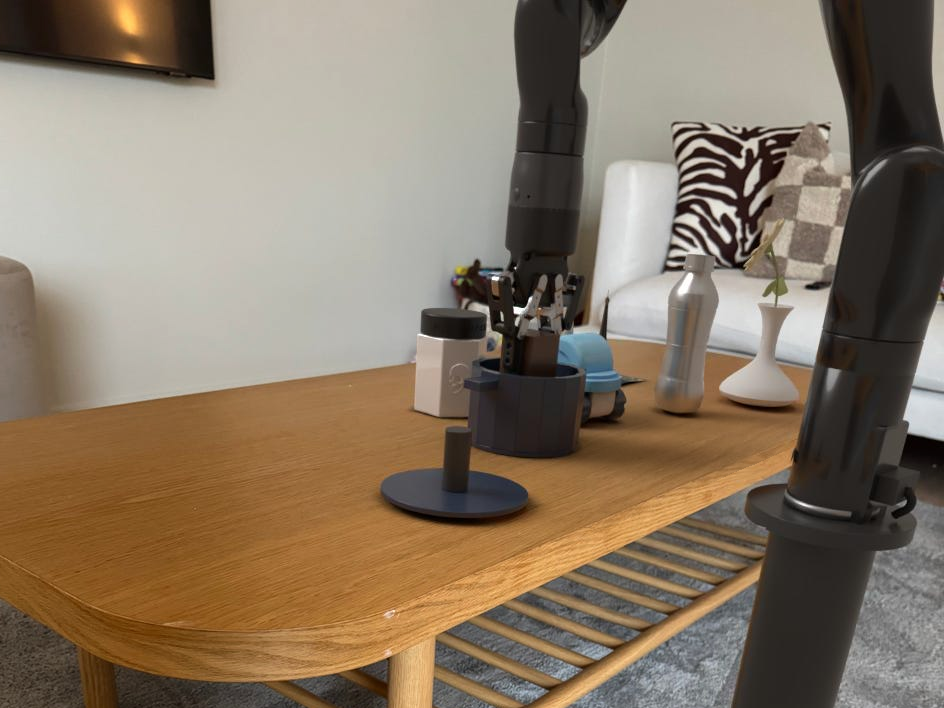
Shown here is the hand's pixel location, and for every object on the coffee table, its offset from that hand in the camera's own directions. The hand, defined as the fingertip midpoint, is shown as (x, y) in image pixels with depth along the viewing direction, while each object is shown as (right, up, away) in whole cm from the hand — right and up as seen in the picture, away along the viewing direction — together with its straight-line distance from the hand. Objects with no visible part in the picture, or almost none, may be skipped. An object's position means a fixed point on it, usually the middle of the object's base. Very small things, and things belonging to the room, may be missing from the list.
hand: (528, 371), depth 106 cm
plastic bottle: (+22, +1, +25) cm, 33 cm away
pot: (-1, -7, +3) cm, 8 cm away
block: (0, 0, 0) cm, 0 cm away
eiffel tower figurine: (+13, +10, +42) cm, 45 cm away
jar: (-9, -1, +16) cm, 18 cm away
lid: (-8, -16, -18) cm, 26 cm away
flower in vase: (+35, +4, +34) cm, 49 cm away
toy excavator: (+6, 0, +20) cm, 21 cm away
